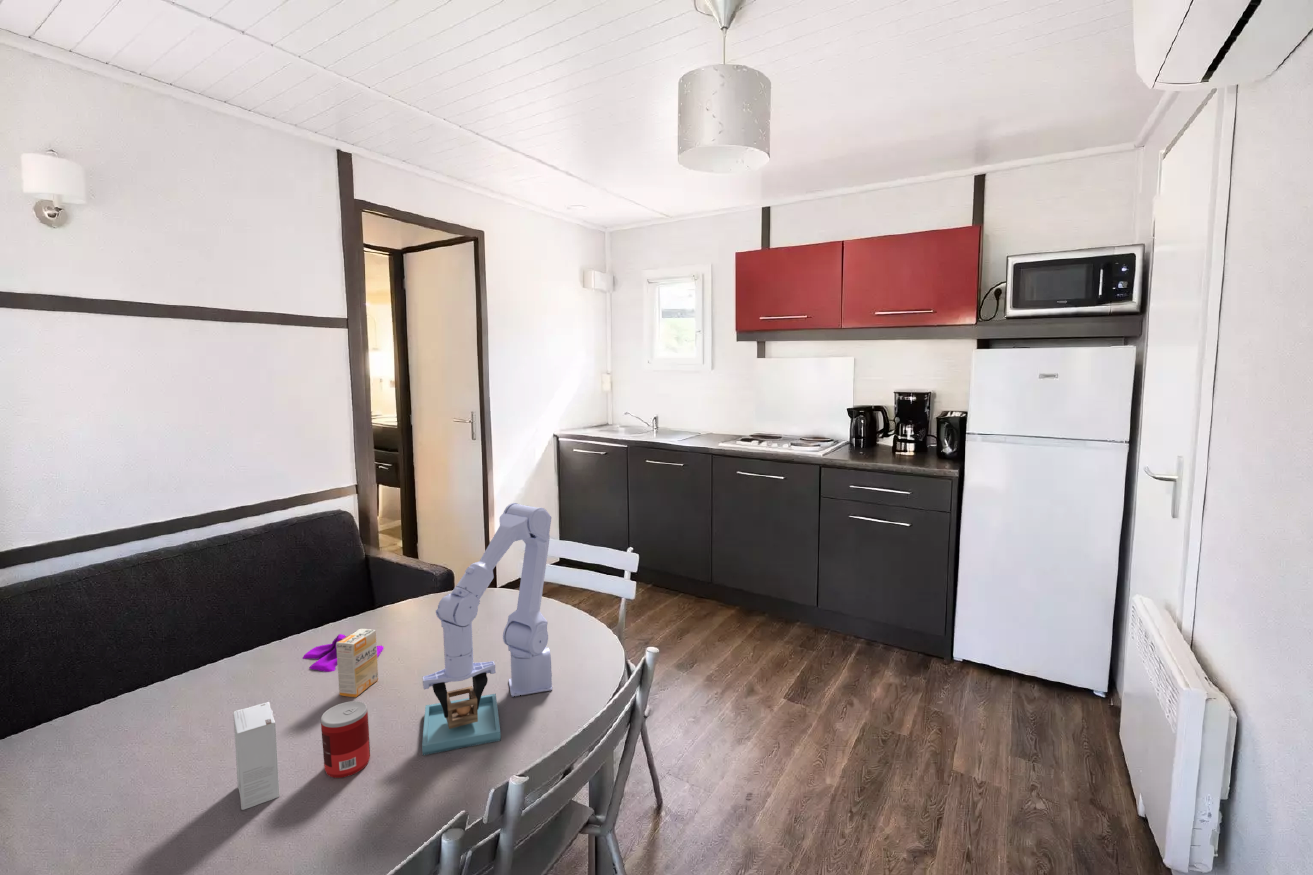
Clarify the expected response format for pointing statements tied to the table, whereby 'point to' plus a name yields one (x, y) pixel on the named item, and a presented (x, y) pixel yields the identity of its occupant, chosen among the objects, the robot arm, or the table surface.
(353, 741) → the canned food
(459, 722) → the wooden cage puzzle
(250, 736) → the skincare box
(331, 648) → the cloth
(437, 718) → the tray
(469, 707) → the ball
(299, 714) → the table surface
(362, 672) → the supplement box
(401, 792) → the table surface
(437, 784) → the table surface
